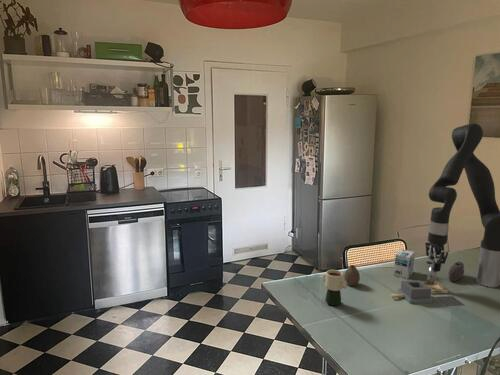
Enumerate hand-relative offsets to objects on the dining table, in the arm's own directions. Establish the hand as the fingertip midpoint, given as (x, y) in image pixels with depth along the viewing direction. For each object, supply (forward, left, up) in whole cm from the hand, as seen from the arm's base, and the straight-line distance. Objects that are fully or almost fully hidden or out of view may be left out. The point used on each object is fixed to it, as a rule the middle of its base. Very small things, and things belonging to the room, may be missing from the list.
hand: (433, 268), depth 164 cm
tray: (0, 0, -10) cm, 10 cm away
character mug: (+48, +10, -10) cm, 50 cm away
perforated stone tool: (-18, -10, -10) cm, 22 cm away
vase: (+34, -7, -10) cm, 36 cm away
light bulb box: (+4, -17, -10) cm, 20 cm away
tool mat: (-1, +12, -10) cm, 15 cm away
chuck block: (+15, +8, -10) cm, 19 cm away
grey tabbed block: (+1, 0, -7) cm, 7 cm away
